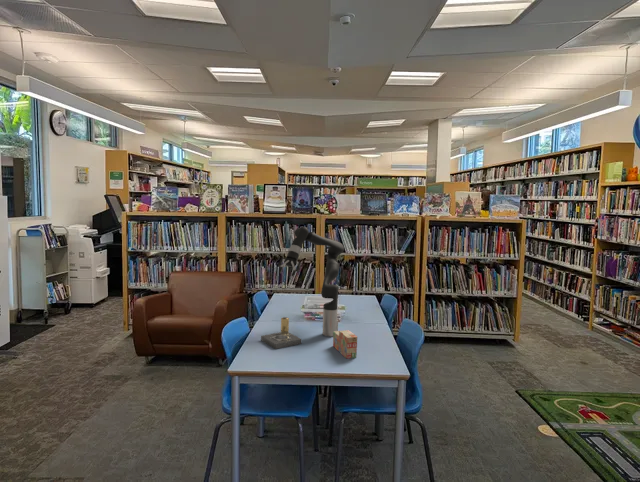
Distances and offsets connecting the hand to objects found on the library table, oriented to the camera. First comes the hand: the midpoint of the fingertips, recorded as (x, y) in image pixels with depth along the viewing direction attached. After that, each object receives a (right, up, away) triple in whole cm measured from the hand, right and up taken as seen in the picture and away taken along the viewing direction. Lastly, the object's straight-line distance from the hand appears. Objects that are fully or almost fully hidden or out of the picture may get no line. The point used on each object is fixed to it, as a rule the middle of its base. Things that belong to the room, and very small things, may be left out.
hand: (286, 274), depth 269 cm
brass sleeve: (-1, -38, -1) cm, 39 cm away
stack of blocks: (+36, -43, -31) cm, 64 cm away
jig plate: (-2, -40, -18) cm, 44 cm away
